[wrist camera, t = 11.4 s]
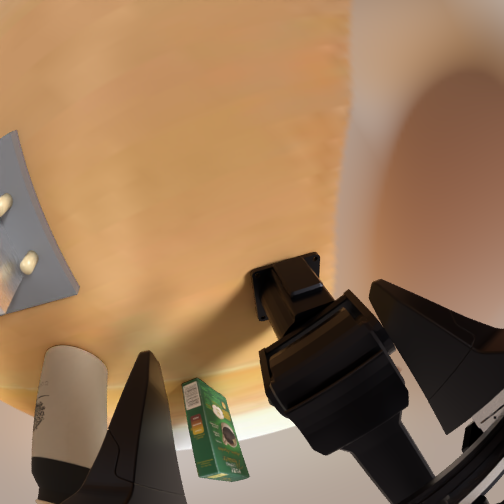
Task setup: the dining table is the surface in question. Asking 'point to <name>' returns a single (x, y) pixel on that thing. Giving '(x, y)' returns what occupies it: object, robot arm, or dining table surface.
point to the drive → (8, 270)
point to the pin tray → (30, 234)
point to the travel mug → (68, 421)
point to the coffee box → (212, 433)
